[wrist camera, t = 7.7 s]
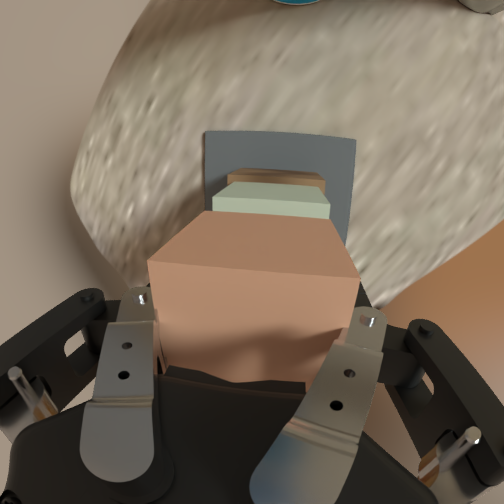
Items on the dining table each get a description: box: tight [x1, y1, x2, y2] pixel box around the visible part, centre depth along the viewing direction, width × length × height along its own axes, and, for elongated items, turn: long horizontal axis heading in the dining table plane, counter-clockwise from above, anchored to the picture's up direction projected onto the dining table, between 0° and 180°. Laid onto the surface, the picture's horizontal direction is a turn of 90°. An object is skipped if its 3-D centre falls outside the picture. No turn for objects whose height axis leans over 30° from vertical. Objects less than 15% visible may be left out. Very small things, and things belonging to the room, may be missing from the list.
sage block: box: [212, 182, 330, 219], centre depth 18 cm, size 6×6×6 cm
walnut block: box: [227, 168, 326, 194], centre depth 23 cm, size 7×7×6 cm
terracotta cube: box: [147, 211, 361, 392], centre depth 10 cm, size 6×6×6 cm
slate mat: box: [205, 131, 356, 246], centre depth 26 cm, size 14×14×1 cm
